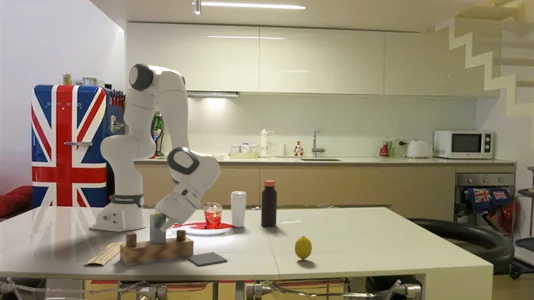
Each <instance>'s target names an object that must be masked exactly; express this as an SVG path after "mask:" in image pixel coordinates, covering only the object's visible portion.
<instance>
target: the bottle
mask: <svg viewBox="0 0 534 300" xmlns="http://www.w3.org/2000/svg"><path fill="white" fill-rule="evenodd" d="M263 182H264V183H263V186H264V189H263V190H262V192H261V208H260V209H261V210H260V211H261V212H260V213H261V214H260V215H261V217H260V220H261V221H260V225H261V226H263V227H266V228H268V227H269V228H272V227H276V226H277V209H278V206H277V205H278V202H277V201H278V192H277V191H276V189H275V187H276V180H270V179H269V180H264V181H263Z"/></svg>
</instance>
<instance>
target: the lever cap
mask: <svg viewBox="0 0 534 300" xmlns="http://www.w3.org/2000/svg"><path fill="white" fill-rule="evenodd" d="M166 222H167V218H166V215H164V214H161V213H160V212H157V211H155V212H154V213H152V214H150V215H149V241H150V242H151V243H152V244H153V245H156V244H164V243H166V239H167V230H166V231H165V232H162V231H161V230H160V229H159V228H160V227H161V225H162V224H165V223H166Z"/></svg>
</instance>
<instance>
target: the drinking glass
mask: <svg viewBox="0 0 534 300" xmlns="http://www.w3.org/2000/svg"><path fill="white" fill-rule="evenodd" d="M246 206H247V192H246V191H241V190H239V191H232V192H231V193H230V209H231V225H234V226H235V227H234V228H242V227H245V219H246V218H245V217H246V209H247V208H246Z"/></svg>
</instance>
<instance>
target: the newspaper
mask: <svg viewBox="0 0 534 300" xmlns="http://www.w3.org/2000/svg"><path fill="white" fill-rule="evenodd" d="M120 244H126V243H124V242H120V241H119V242H117V241H116V242H112V243H109V244H108V245H107V246H105V247H104V248H103V249H102V250H101V251H98V253H96V255H94V256H93V257H92V258H91V259H89V260H88V261H86V263H84V264H83V267H86V266H88V265H90V264H99V265H102V267H105V266H106V265H107V264H108V263H109V262H110V261H112V259H113V258H114V257H116V256H117V255H118V254H120Z"/></svg>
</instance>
